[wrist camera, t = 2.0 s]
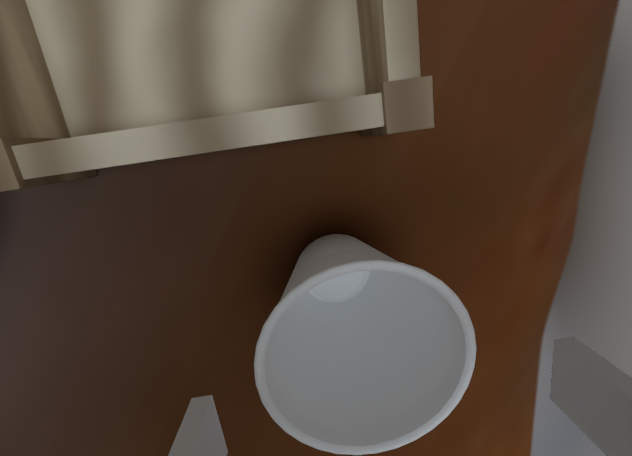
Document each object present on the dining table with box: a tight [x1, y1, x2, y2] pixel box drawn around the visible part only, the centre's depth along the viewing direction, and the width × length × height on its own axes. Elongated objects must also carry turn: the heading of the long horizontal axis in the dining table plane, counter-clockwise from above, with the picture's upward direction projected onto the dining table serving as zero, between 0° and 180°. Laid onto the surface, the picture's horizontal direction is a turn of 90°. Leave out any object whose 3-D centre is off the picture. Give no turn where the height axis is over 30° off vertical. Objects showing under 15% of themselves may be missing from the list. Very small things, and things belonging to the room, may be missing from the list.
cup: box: [254, 234, 476, 455], centre depth 19 cm, size 10×10×11 cm
